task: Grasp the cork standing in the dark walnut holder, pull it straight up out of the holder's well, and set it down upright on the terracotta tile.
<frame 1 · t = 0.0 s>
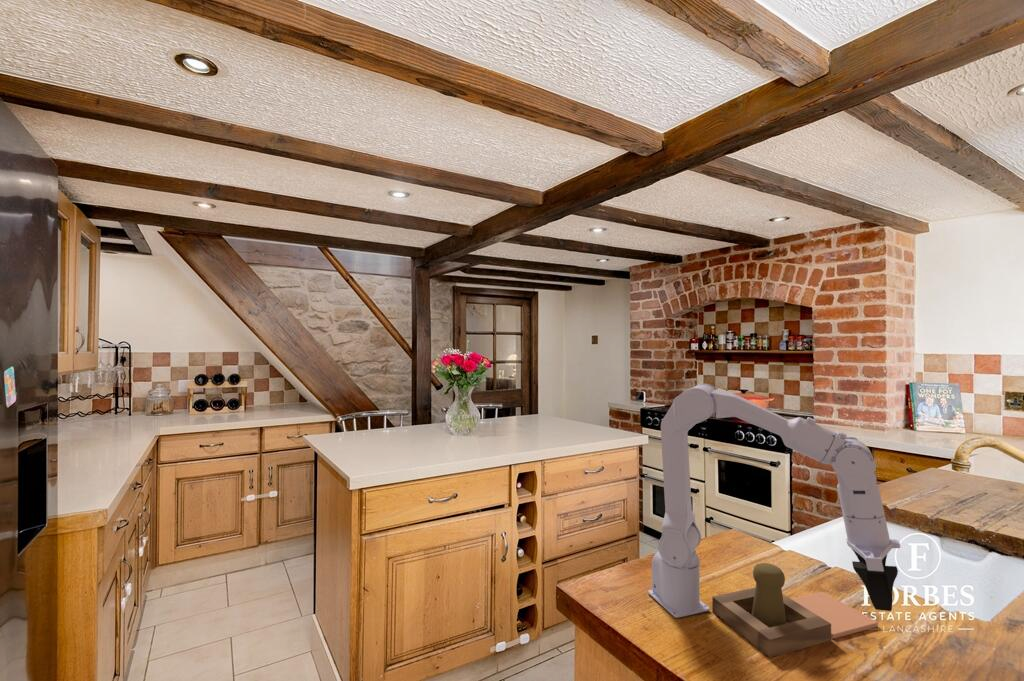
hand: (880, 597, 78), 11 cm above the table, tool pointing down, fingers open, 7 cm apart
walnut holder: (768, 625, 88), on the table
terracotta tile: (827, 615, 91), on the table
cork: (768, 626, 88), resting in walnut holder
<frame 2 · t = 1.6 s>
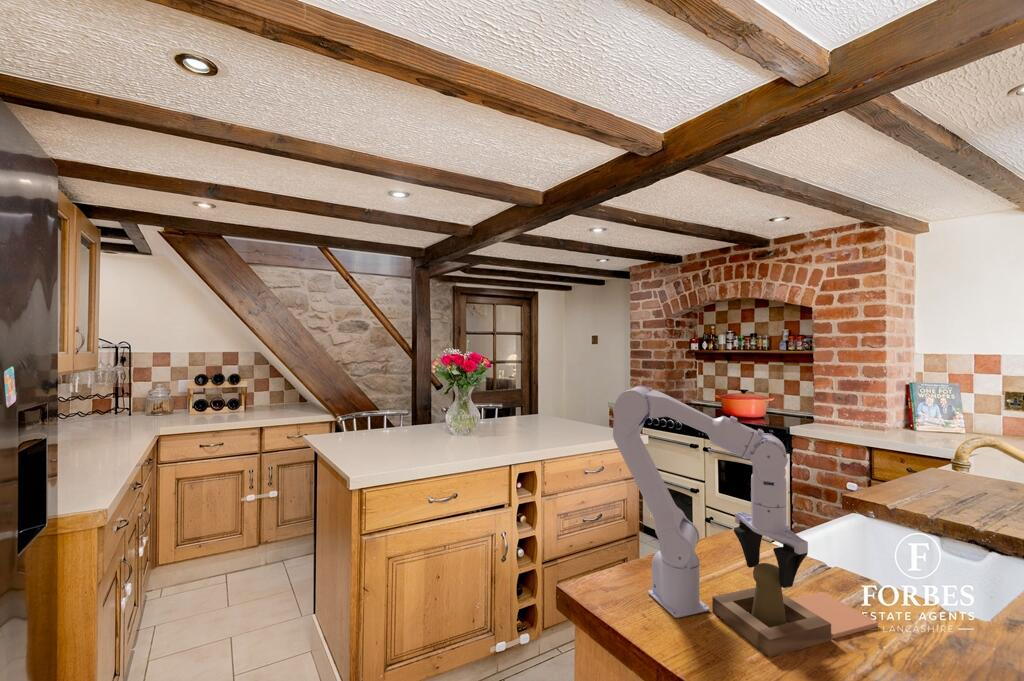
hand: (768, 575, 87), 9 cm above the table, tool pointing down, fingers open, 7 cm apart
nothing on the table moved.
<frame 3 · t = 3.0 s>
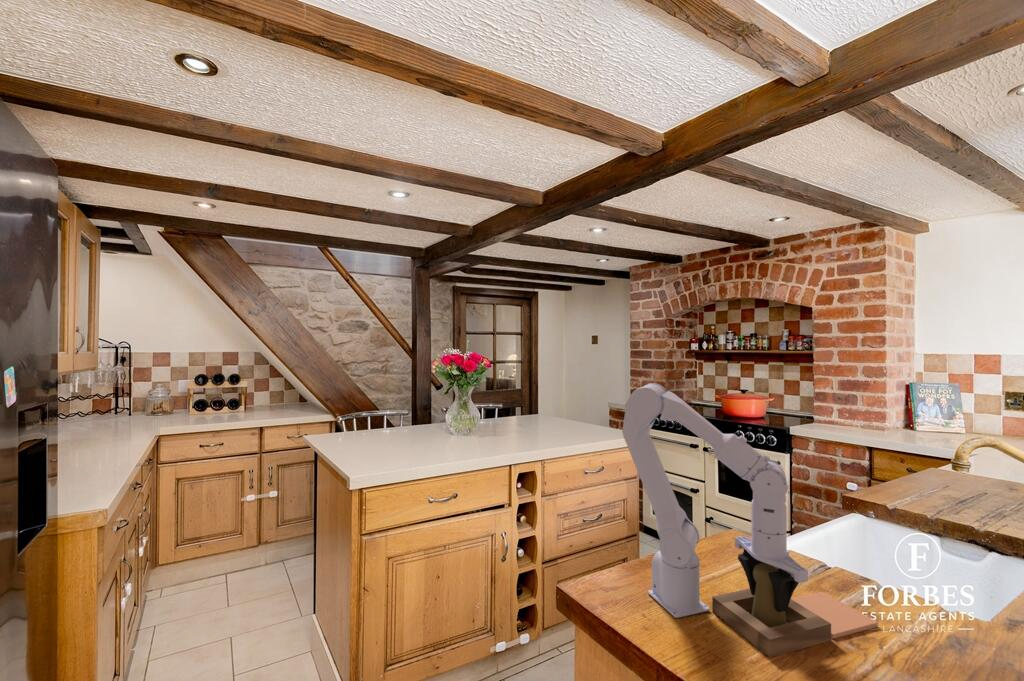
hand: (768, 601, 88), 4 cm above the table, tool pointing down, fingers closed on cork, 5 cm apart
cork: (768, 626, 88), resting in walnut holder, touching gripper
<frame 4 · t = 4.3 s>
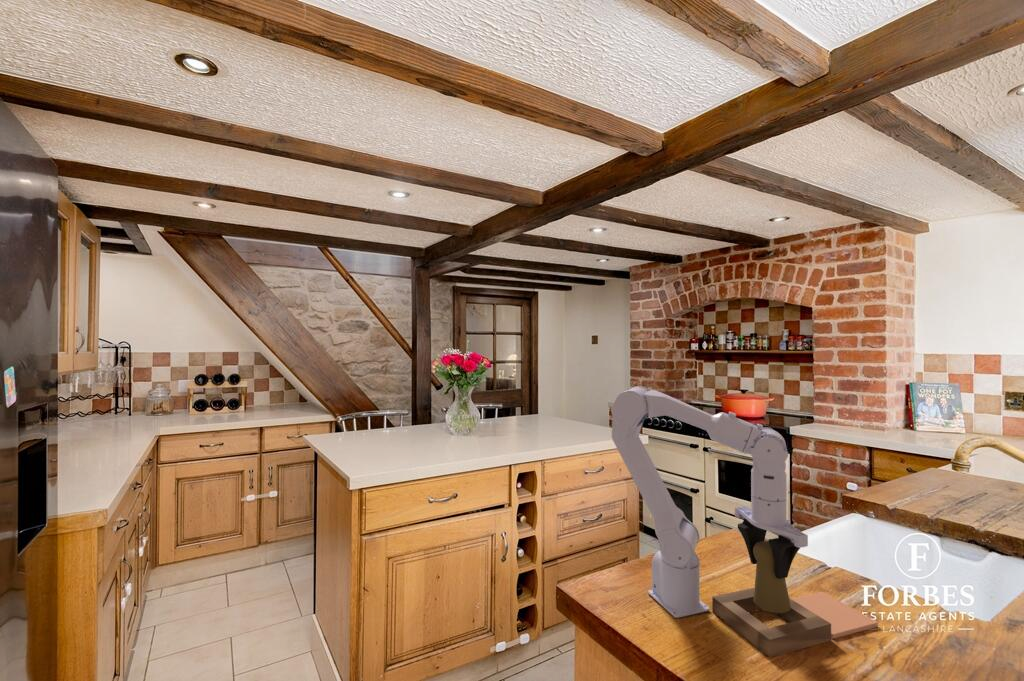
hand: (768, 569, 87), 10 cm above the table, tool pointing down, fingers closed on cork, 5 cm apart
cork: (771, 604, 87), point 4 cm above the table, touching gripper
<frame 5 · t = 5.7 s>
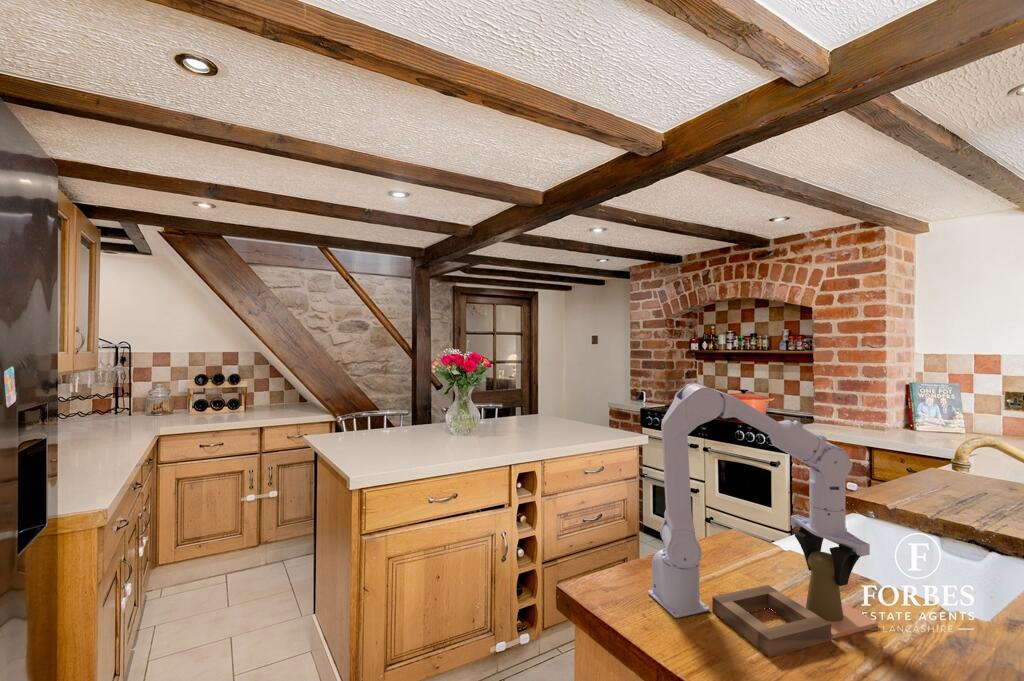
hand: (827, 576, 90), 7 cm above the table, tool pointing down, fingers closed on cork, 5 cm apart
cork: (824, 613, 90), point 1 cm above the table, touching gripper, terracotta tile
when the fingers open (6 cm above the table, at t = 6.8 s): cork stays where it is, resting on terracotta tile.
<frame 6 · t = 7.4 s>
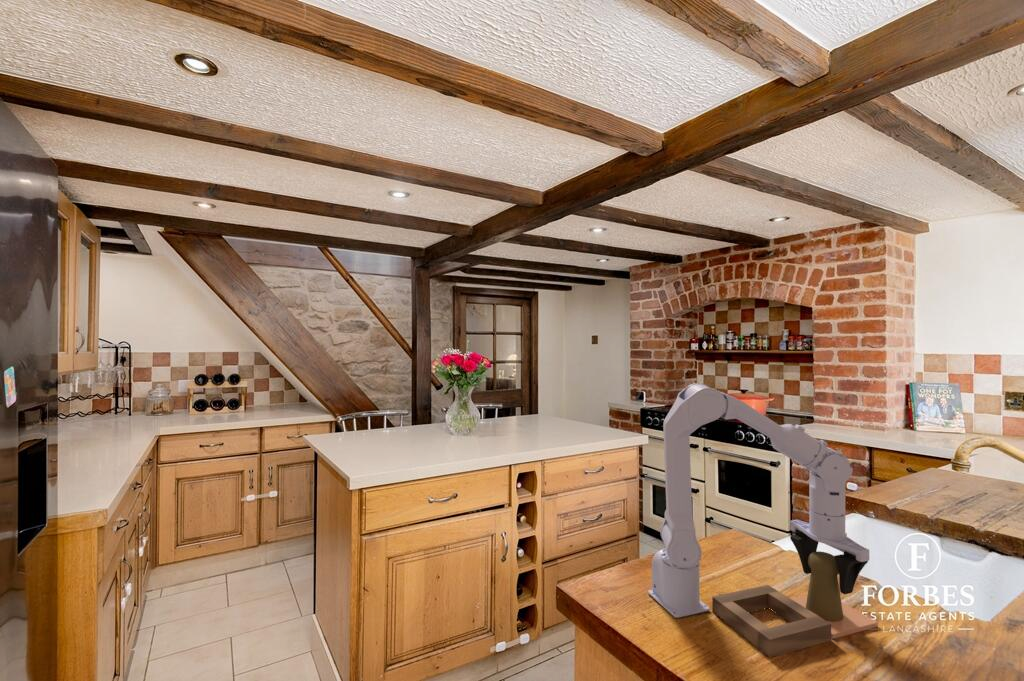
hand: (827, 582, 90), 6 cm above the table, tool pointing down, fingers open, 7 cm apart
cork: (824, 613, 90), point 1 cm above the table, touching terracotta tile
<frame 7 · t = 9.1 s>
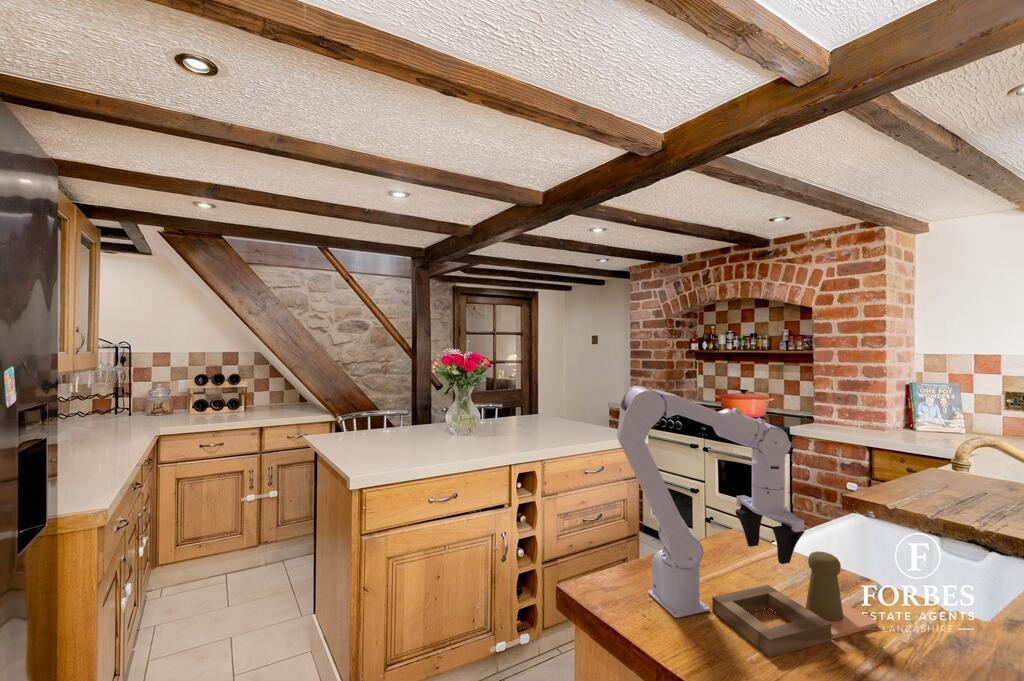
hand: (768, 553, 94), 10 cm above the table, tool pointing down, fingers open, 7 cm apart
nothing on the table moved.
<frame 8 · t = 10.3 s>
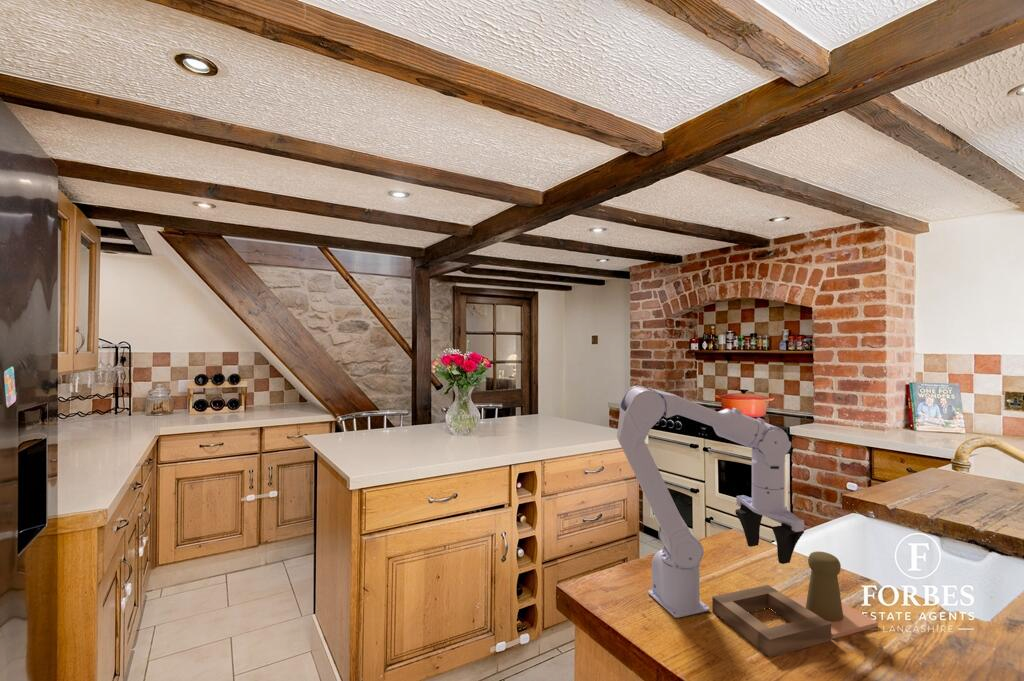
hand: (768, 553, 94), 10 cm above the table, tool pointing down, fingers open, 7 cm apart
nothing on the table moved.
at the end: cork inside the target area on the terracotta tile (0.8 cm from its centre), point 0.6 cm above the terracotta tile's base; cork tilted 0°; the gripper is holding nothing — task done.
